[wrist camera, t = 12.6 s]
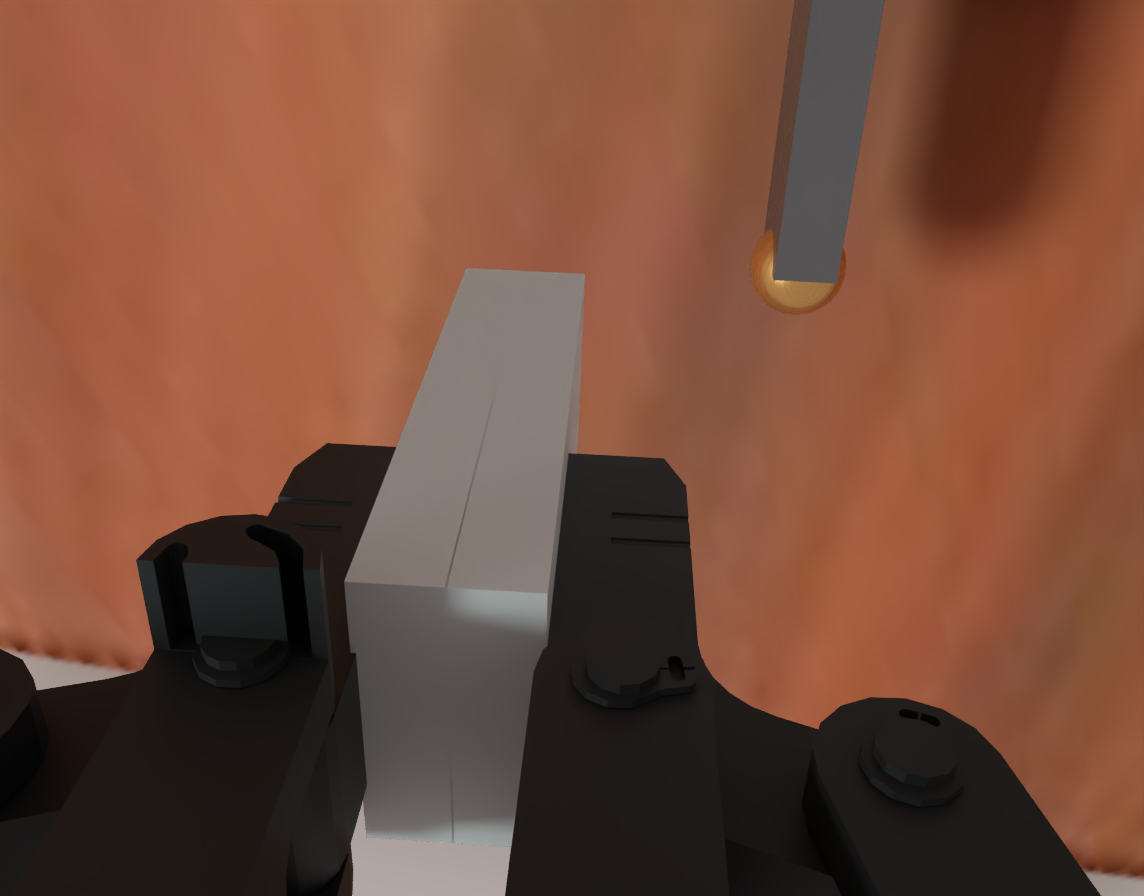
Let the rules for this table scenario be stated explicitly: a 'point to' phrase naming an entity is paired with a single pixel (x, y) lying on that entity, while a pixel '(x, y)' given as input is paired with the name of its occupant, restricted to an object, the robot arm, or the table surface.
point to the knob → (816, 153)
